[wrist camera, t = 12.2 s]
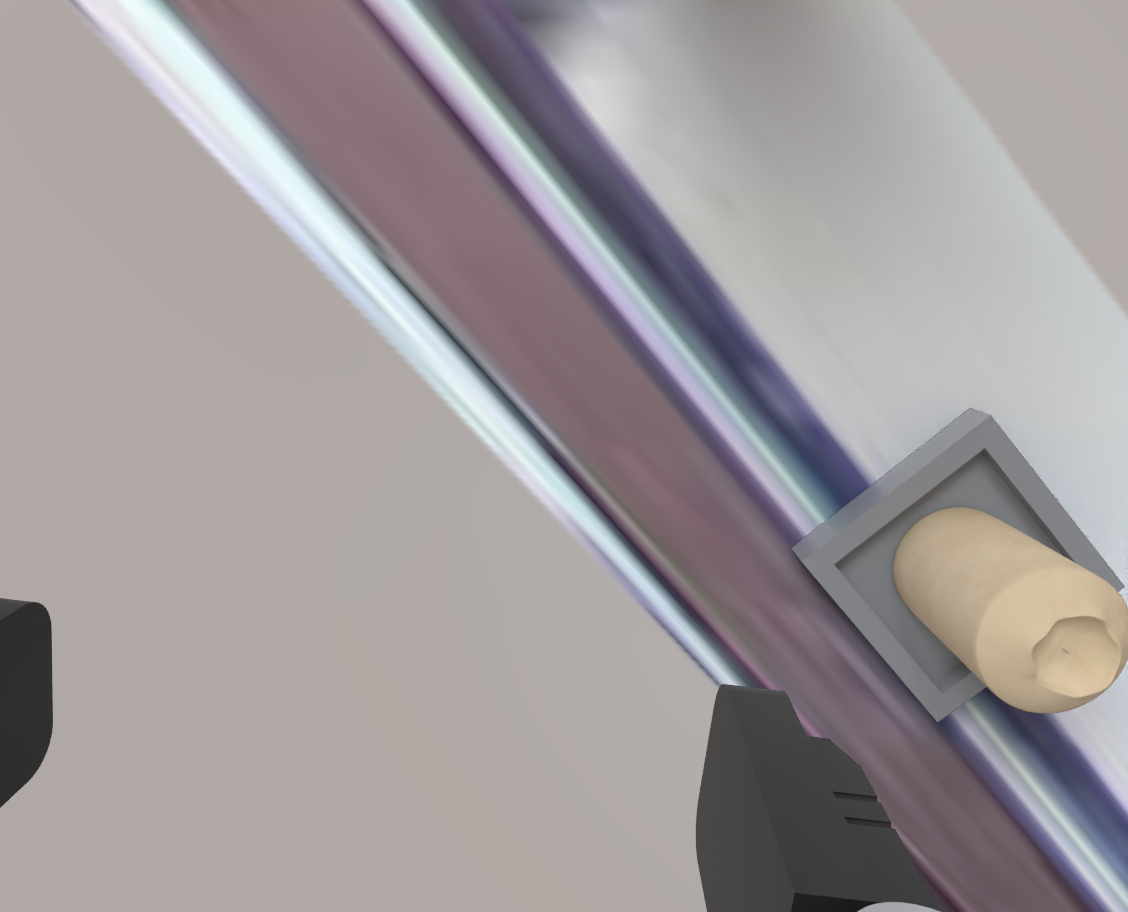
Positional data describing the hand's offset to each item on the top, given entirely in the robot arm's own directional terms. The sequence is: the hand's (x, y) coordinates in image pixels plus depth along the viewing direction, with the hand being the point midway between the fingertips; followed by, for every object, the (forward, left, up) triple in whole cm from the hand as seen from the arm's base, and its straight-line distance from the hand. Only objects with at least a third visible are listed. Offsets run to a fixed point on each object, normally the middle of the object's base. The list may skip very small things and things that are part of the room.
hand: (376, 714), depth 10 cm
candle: (+5, +20, -29) cm, 35 cm away
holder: (+5, +20, -29) cm, 36 cm away
